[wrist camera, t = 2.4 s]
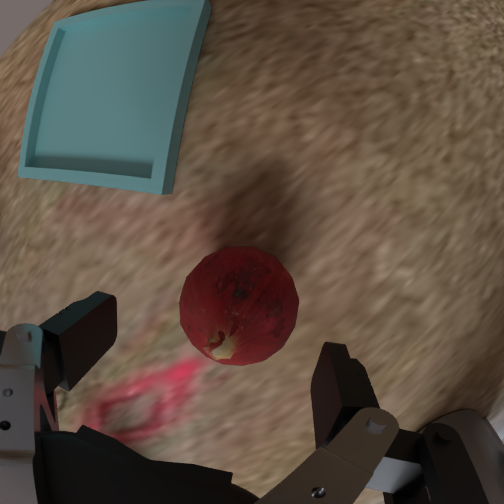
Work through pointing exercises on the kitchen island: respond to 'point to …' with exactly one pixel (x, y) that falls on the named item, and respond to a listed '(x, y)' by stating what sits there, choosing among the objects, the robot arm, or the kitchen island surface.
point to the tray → (114, 96)
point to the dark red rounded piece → (238, 306)
